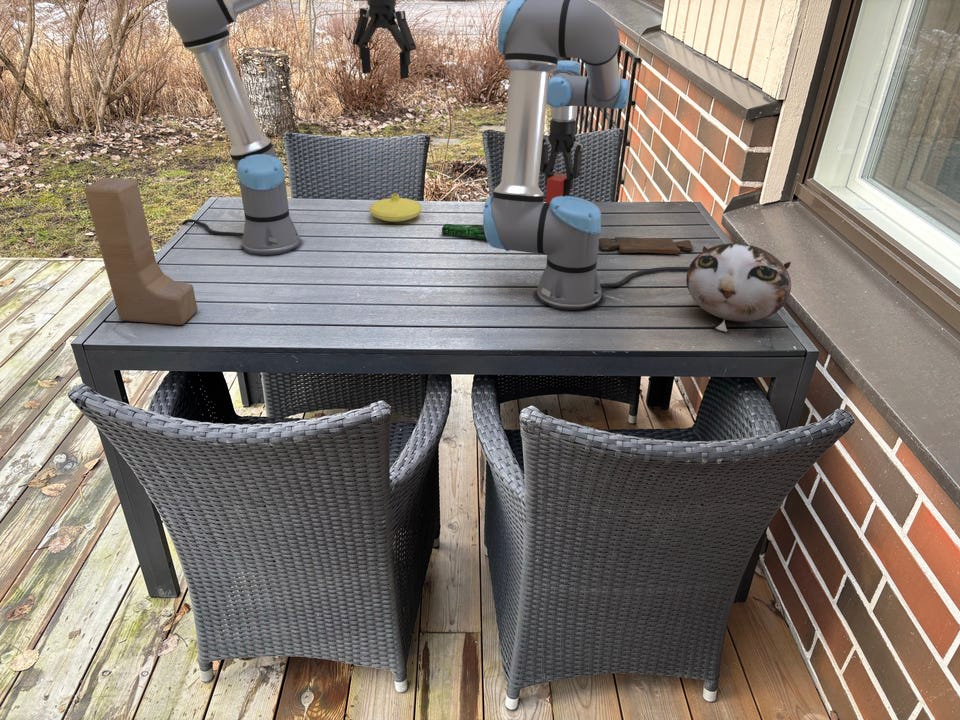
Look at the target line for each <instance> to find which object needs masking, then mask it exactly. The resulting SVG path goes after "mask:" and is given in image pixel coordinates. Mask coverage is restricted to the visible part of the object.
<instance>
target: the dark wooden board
mask: <svg viewBox="0 0 960 720" xmlns="http://www.w3.org/2000/svg"><path fill="white" fill-rule="evenodd" d="M673 240H674V238H673V237H651V238H650V237H644V238H643V237H632V236H625V237H623V236H615V237H614V239H610V238H608V237H603V238H602V237H601V238H599V248H600V250H601V251H607V252H608V251H612V250H613V251H614V250H617V249H619V253H621V254H635V253H639V254H641V253H643V254H645V253H646V254H669V255H678V254H680V253H681V251H684V252H692V250H693V245H692V242H691V240H689V239H685V240H681V241H680V240H678V241H673Z"/></svg>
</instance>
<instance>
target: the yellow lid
mask: <svg viewBox="0 0 960 720" xmlns="http://www.w3.org/2000/svg"><path fill="white" fill-rule="evenodd" d="M399 196H400V195H399V194H398V193H392V194H391V195H390V197H389V198H383V199H379V200H376V201H374V202H373V203H372V204H371V205H370V206H369V212H370V214H371V216H373V217H374V218H375V219H376V218H377V219H379V220H381V221H384V222H392V223H394V222H395V223H396V222H397V223H399V222H405V221H409V220H411V219H413V218H416V217H417V216H419V215H420V214H421V212H422V205H421V204H420V203H419V202H418V201H416V200H414V199H411V198H405V197H399Z"/></svg>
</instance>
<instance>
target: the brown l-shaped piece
mask: <svg viewBox="0 0 960 720" xmlns="http://www.w3.org/2000/svg"><path fill="white" fill-rule="evenodd" d="M83 191H84V194H85V199H86V201H87V206H88V209H89V212H90V217H91V220H92V224H93V227H94V231H95V234H96V238H97V242H98V245H99V249H100V253H101V256H102V260H103V263H104V267H105V270H106V275H107V278H108V283H109V286H110V289H111V292H112V293H111V294H112V297H113V300H114V304H115V308H116V311H117V315H118V318H119V320H120V321H124V322H137V323H150V324H160V325H161V324H162V325H173V326H174V325H175V326H182V325H185V324H186V323H187V322H188V321H189V320H190V319H192V318H193V316H194V315H195V314H196V313H197V312H198V304H197V299H196V293H195V290H194V285H192V283H187V282H182V281H177V280H174V279H172V278H171V277H170V276H167V275H166V274H164V272H163V270H162V269H161V267H160V265H159V264H158V262H157V260H156V257H155V252H154V248H153V245H152V239H151V235H150V231H149V227H148V223H147V218H146V214H145V209H144V206H143V201H142V196H141V192H140V189H139V184H138V181H137V179H133V178H116V177H115V178H114V177H104V178H101V179H99V180H97V181H96V182H93V183H92V184H90V185H87V186H85V187H84V190H83Z"/></svg>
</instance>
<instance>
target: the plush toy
mask: <svg viewBox="0 0 960 720" xmlns="http://www.w3.org/2000/svg"><path fill="white" fill-rule="evenodd" d="M791 263H792V261H788V262H785V263H782V261H781V260H779V258H778V257H776V256H775V255H773V254H772V253H770V252H768V250H765V249H763V248H760V247H758V246H754V245H751V244H746V243H739V242H738V243H735V242H734V243H733V242H732V243H731V242H730V243H729V242H728V243H722V244H718V245H714V246H711V247H709V248H707V247H706V246H705V245H703V246H702V251H701V253H699V254H698V255H697V256H696V257H695V258H694V259H693V260H692V261H691V263H690V264H689V266H688V267H689V268H688V271H687V272H686V279H685V280H686V281H685V283H686V287H687V290H688V292H689V295H690V296H691V298H692V300H693V301H694V302H695V304H697V305H698V306H699V307H700V308H701V309H702V310H704V311H705V312H706V313H708V314H710V315H712V316H714V317H717V318H719V319H722V322H721V323H720V324H719V325H718V326H716V327H715V329H716V330H718V331H722V332H728V329H727V326H726V320H727V321H730V322H737V323H738V322H740V323H747V322H756V321H761V320H765V319H767V318H770V317H771V316H772V315H774V314H776V313H777V312H779V311H780V310H782V308H783V307H784V306H785V305H786V303H787V302H788V300H789V298H790V295H791V292H792V281H791V280H792V279H791V276H790V273H789V271H788V269H789V268H790V266H791Z"/></svg>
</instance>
